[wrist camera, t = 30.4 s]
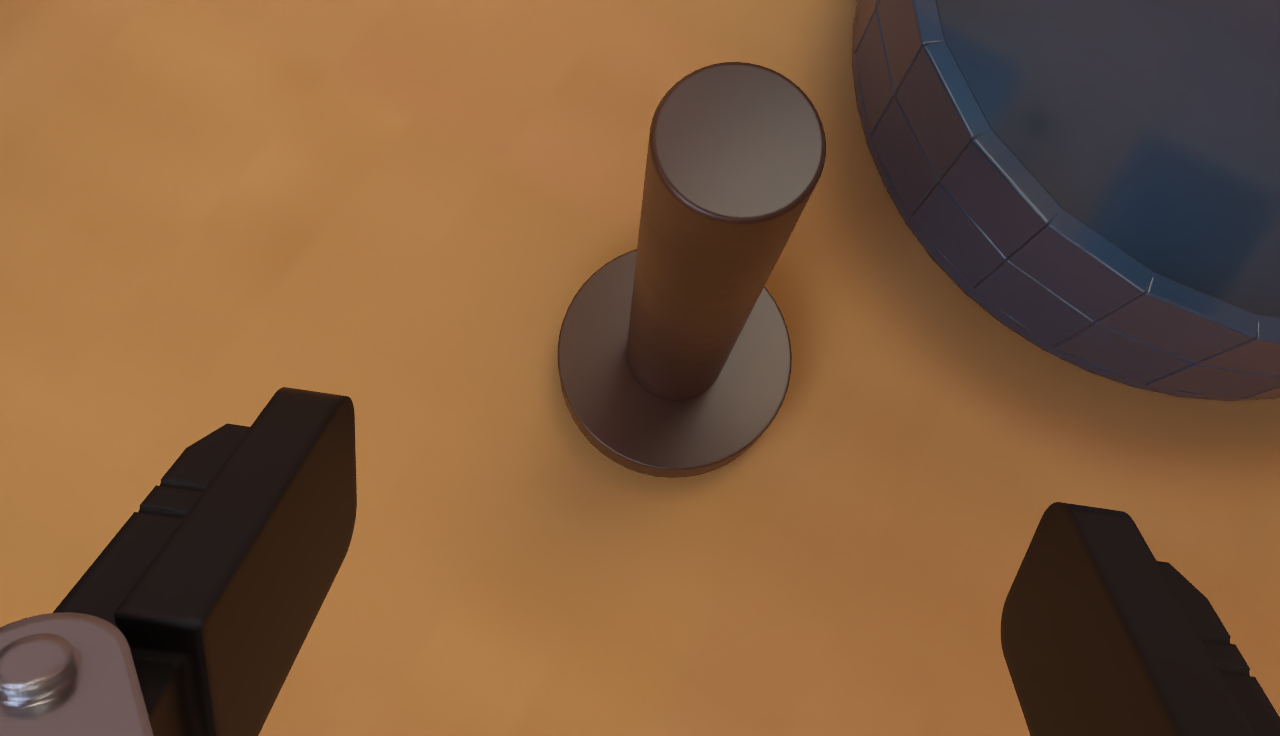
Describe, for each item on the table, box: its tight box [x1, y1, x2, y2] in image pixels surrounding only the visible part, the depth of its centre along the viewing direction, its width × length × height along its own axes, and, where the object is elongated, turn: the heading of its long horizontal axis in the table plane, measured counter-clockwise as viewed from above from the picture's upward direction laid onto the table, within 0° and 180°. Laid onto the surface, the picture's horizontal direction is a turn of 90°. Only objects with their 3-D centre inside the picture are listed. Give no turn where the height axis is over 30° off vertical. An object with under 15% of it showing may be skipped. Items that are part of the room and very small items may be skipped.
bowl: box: [852, 0, 1280, 401], centre depth 27 cm, size 20×20×5 cm
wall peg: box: [558, 62, 826, 477], centre depth 20 cm, size 6×6×13 cm
